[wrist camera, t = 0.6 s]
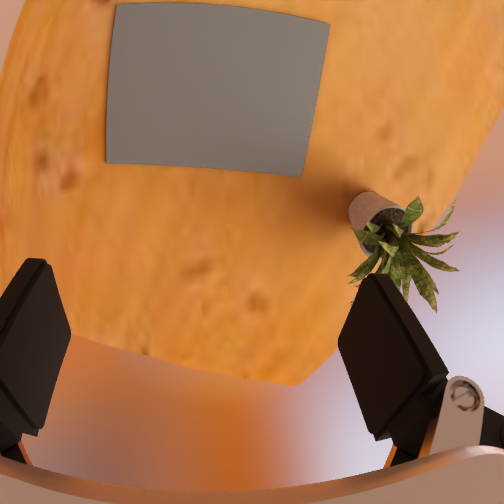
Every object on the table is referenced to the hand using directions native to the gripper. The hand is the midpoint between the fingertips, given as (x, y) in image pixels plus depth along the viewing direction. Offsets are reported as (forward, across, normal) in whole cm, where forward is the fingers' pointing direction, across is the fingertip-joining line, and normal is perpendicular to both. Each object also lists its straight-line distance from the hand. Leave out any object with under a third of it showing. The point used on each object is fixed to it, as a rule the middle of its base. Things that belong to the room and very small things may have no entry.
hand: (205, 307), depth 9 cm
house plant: (+28, -20, +7) cm, 34 cm away
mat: (+27, 0, -4) cm, 28 cm away
